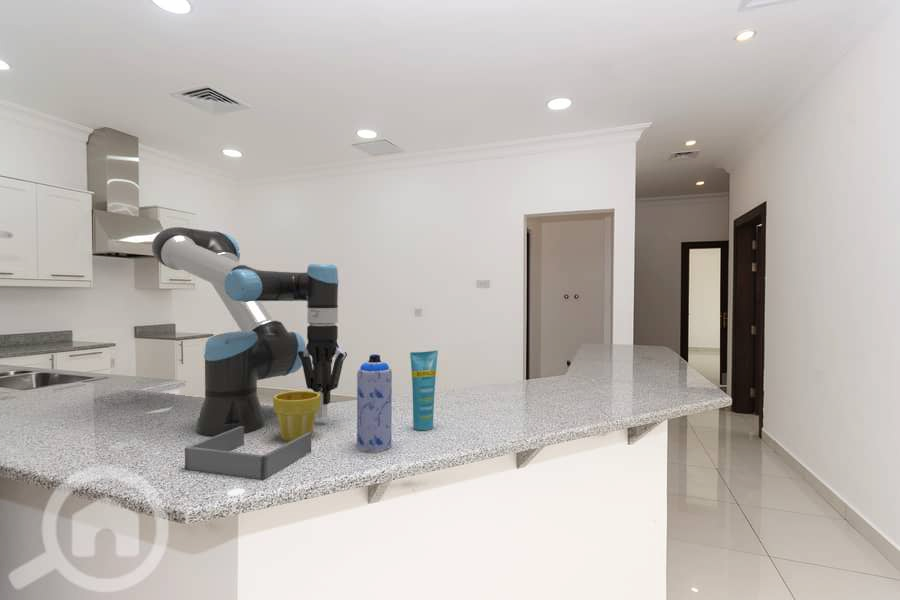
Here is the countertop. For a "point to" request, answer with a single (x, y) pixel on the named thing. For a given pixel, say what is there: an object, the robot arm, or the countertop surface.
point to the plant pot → (296, 412)
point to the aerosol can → (374, 406)
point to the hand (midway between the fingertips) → (322, 416)
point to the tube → (423, 388)
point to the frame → (242, 455)
